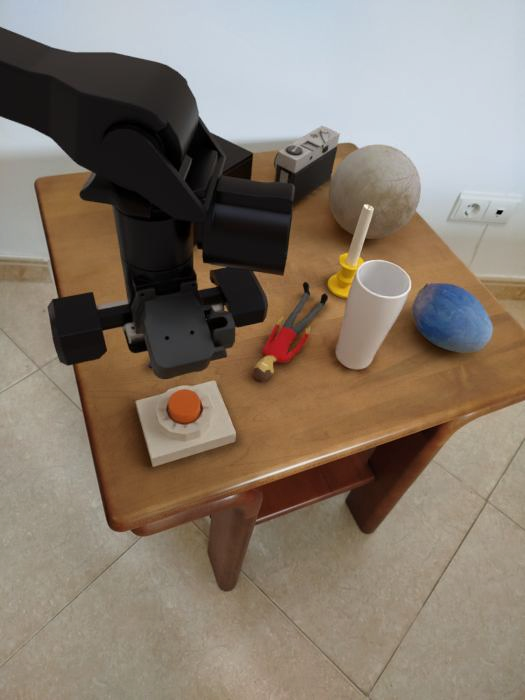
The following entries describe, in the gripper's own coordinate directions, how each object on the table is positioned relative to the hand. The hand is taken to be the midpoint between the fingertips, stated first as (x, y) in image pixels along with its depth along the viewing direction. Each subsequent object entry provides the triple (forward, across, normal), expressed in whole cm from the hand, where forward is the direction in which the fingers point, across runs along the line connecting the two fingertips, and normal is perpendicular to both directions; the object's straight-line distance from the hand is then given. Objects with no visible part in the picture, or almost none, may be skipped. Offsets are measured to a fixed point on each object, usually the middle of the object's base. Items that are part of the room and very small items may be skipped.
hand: (166, 365), depth 50 cm
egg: (+11, +41, +3) cm, 42 cm away
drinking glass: (+12, +27, +2) cm, 29 cm away
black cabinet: (+12, +14, +40) cm, 44 cm away
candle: (+12, +32, +15) cm, 37 cm away
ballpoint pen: (+12, +4, +12) cm, 17 cm away
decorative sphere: (+11, +42, +28) cm, 52 cm away
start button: (+8, +1, -1) cm, 8 cm away
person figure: (+12, +19, +8) cm, 24 cm away
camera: (+12, +36, +44) cm, 57 cm away
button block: (+11, +1, -1) cm, 12 cm away
